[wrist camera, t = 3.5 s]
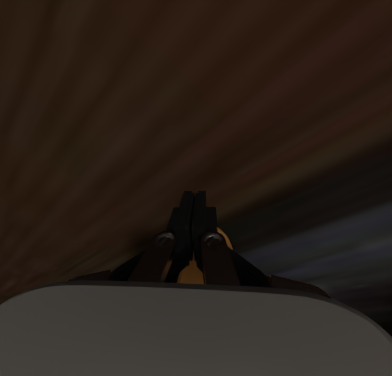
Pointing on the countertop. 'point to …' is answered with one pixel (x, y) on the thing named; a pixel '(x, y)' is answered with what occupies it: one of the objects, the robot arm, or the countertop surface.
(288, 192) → the countertop surface
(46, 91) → the countertop surface
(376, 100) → the countertop surface
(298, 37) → the countertop surface
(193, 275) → the ball
